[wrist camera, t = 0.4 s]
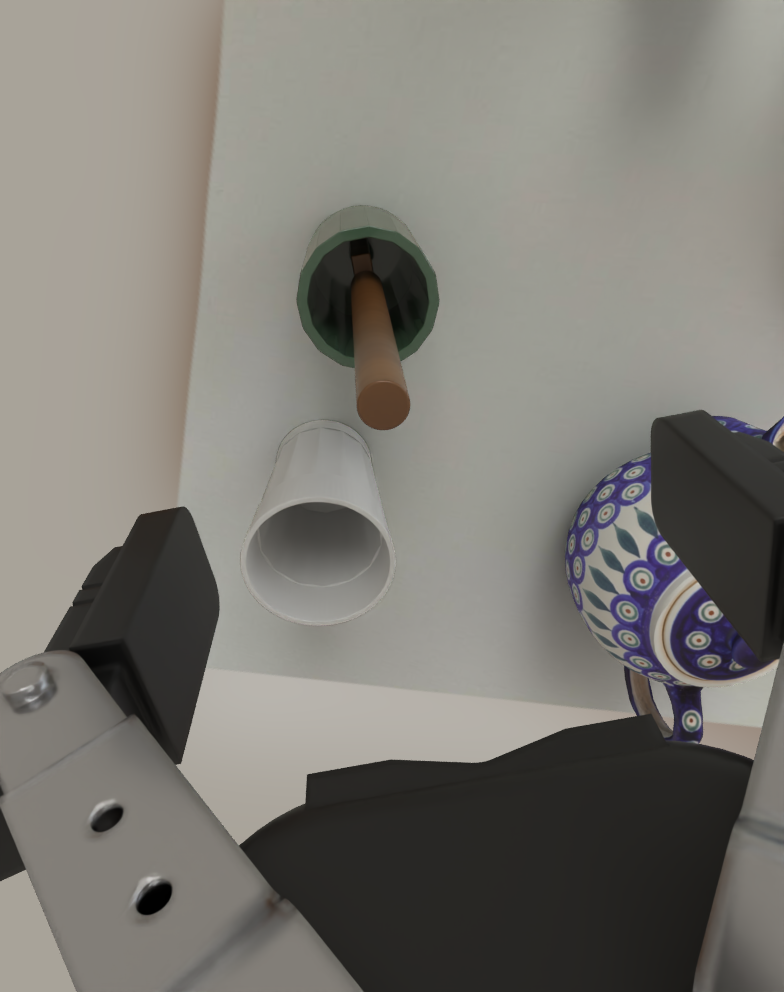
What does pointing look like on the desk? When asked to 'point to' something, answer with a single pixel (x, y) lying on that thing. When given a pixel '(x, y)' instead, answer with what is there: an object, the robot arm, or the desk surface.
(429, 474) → the desk surface
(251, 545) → the cup
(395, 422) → the wooden paddle stick
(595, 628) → the teapot
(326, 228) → the crock
